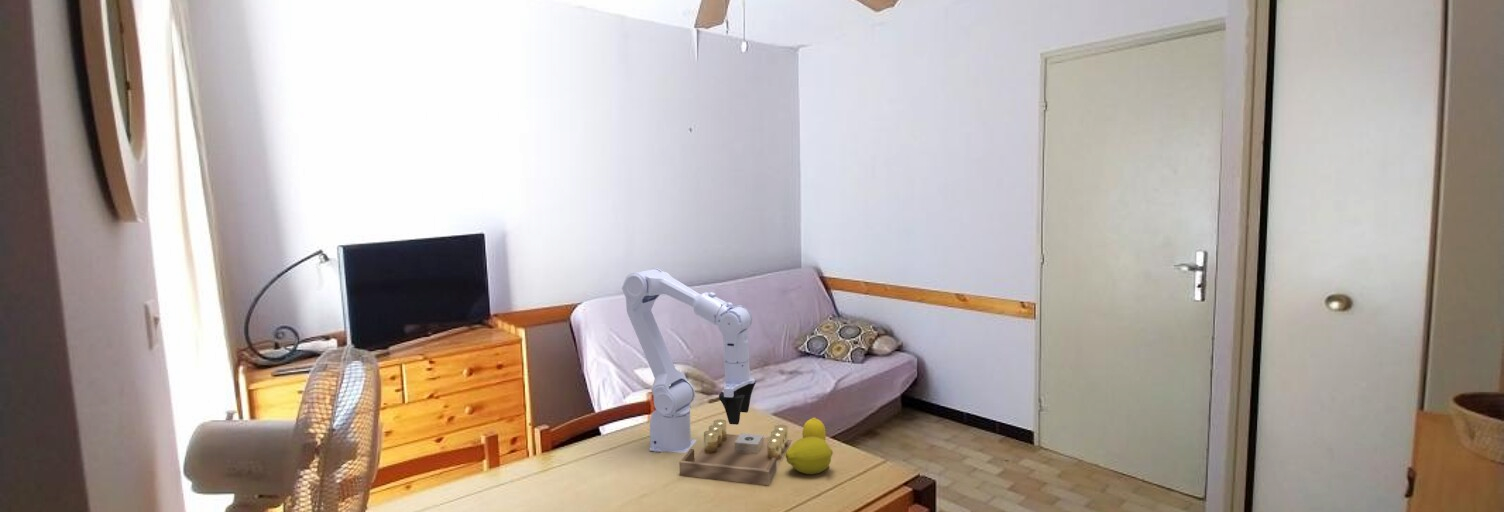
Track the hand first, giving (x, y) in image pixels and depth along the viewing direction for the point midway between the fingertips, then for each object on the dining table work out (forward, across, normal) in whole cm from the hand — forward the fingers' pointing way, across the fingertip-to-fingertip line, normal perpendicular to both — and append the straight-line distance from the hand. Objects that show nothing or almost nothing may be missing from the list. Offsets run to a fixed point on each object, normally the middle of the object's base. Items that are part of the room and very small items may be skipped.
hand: (738, 417), depth 144 cm
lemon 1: (+10, +9, -16) cm, 21 cm away
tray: (+10, 0, 0) cm, 10 cm away
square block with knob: (+9, +5, -1) cm, 11 cm away
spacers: (+9, +5, 0) cm, 11 cm away
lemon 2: (+11, -3, -17) cm, 20 cm away
